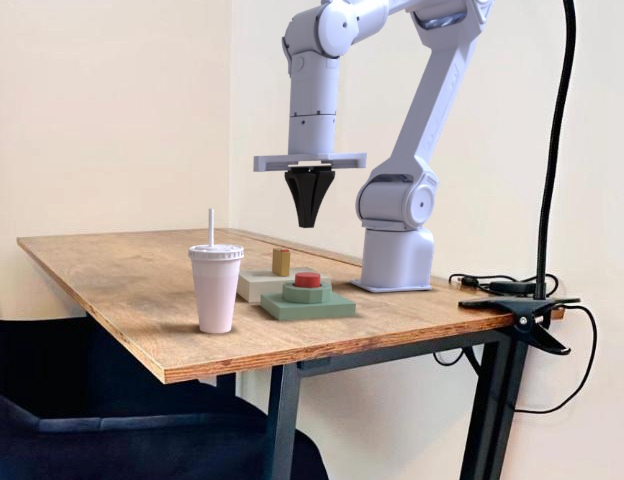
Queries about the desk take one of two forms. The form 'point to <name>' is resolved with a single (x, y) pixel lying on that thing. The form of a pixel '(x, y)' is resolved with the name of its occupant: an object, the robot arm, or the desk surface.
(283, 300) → the green square plate
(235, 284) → the smoothie
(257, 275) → the plate
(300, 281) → the lock button
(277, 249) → the thumbturn
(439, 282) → the desk surface
